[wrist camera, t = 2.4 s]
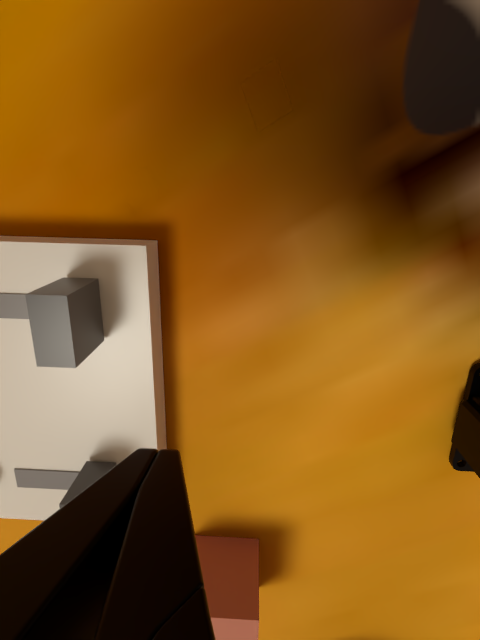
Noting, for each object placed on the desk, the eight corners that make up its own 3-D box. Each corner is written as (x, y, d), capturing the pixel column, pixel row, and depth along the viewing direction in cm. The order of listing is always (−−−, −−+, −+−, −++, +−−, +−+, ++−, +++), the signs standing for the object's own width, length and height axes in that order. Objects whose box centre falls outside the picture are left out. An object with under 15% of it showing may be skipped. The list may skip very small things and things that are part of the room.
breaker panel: (157, 240, 19) (138, 249, 16) (169, 500, 24) (156, 545, 21) (-61, 233, 19) (-121, 241, 16) (-3, 491, 24) (-41, 533, 21)
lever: (116, 462, 20) (93, 506, 18) (120, 506, 21) (99, 555, 19) (86, 460, 20) (59, 504, 18) (92, 505, 21) (66, 553, 19)
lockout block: (258, 538, 25) (258, 620, 20) (256, 587, 26) (255, 675, 21) (191, 534, 25) (175, 615, 20) (192, 583, 26) (177, 670, 21)
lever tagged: (98, 278, 17) (66, 295, 14) (104, 340, 18) (75, 368, 15) (63, 277, 17) (25, 294, 14) (71, 339, 18) (36, 366, 15)
